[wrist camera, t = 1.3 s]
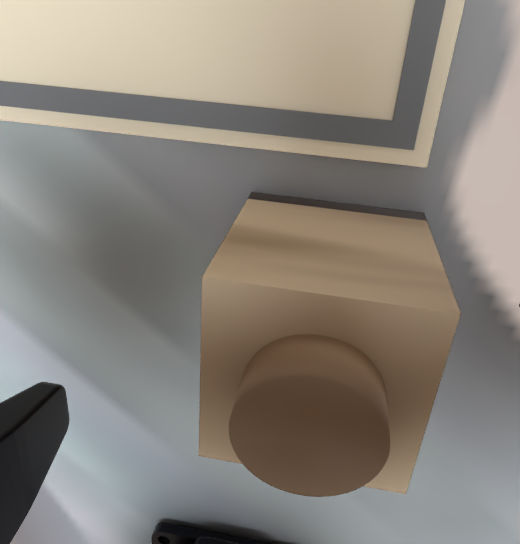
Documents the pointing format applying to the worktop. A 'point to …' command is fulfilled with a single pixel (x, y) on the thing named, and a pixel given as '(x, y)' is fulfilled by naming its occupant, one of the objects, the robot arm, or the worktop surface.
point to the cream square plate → (235, 71)
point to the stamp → (323, 344)
